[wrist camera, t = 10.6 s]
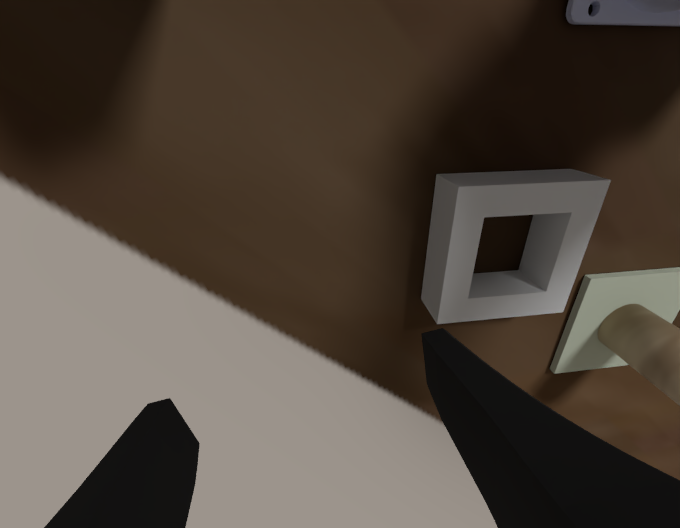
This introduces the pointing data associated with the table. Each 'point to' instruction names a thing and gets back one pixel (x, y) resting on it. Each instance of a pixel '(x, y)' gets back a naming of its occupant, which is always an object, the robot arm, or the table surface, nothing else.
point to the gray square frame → (540, 249)
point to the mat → (602, 299)
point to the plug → (645, 345)
